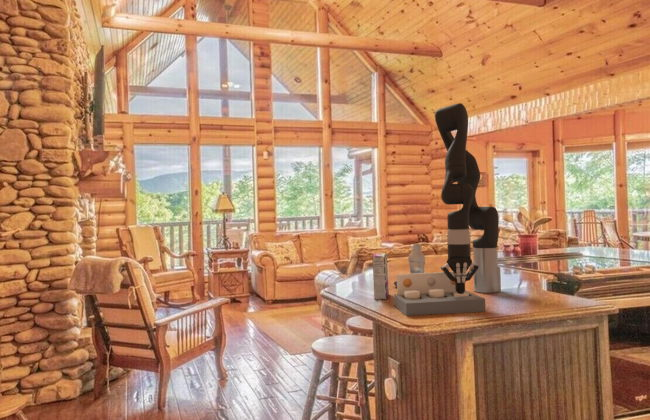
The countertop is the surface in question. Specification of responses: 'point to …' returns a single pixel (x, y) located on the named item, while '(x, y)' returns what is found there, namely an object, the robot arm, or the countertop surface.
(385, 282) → the candy bar box
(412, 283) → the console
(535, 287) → the countertop surface
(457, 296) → the button
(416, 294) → the button
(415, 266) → the metal water bottle
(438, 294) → the button middle
